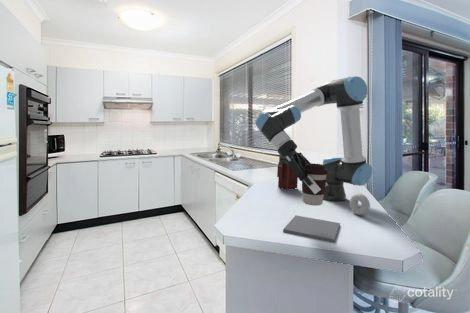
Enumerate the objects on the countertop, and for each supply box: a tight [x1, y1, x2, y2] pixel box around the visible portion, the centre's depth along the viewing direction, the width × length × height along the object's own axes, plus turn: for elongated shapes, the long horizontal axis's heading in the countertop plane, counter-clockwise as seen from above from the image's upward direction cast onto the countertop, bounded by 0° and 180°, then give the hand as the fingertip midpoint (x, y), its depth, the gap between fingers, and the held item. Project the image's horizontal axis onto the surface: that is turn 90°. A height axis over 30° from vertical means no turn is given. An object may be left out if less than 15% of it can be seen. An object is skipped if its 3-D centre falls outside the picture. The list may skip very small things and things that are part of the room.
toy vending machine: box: [276, 153, 299, 191], centre depth 166 cm, size 9×11×28 cm
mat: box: [282, 215, 341, 243], centre depth 99 cm, size 18×18×1 cm
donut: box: [349, 193, 371, 217], centre depth 116 cm, size 10×4×10 cm, turn 21°
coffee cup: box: [301, 163, 328, 206], centre depth 97 cm, size 10×10×15 cm
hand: (321, 189), depth 95 cm, fingers closed on coffee cup, 10 cm apart
